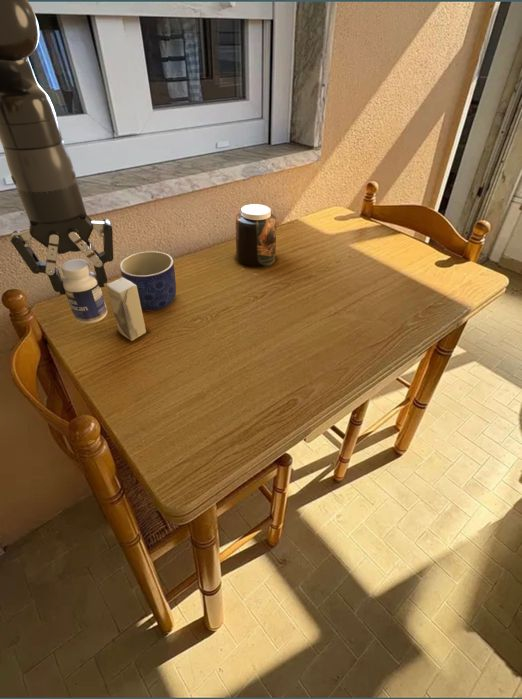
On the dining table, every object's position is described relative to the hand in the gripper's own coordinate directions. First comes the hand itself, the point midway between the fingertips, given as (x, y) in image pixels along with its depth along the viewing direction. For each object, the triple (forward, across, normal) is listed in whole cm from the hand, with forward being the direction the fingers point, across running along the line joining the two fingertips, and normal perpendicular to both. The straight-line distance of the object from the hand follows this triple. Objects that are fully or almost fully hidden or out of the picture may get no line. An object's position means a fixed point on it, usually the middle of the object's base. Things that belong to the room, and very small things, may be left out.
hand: (82, 288), depth 62 cm
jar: (+21, -46, -37) cm, 63 cm away
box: (+21, -6, -14) cm, 26 cm away
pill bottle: (+6, 0, 0) cm, 6 cm away
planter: (+21, -13, -25) cm, 35 cm away
